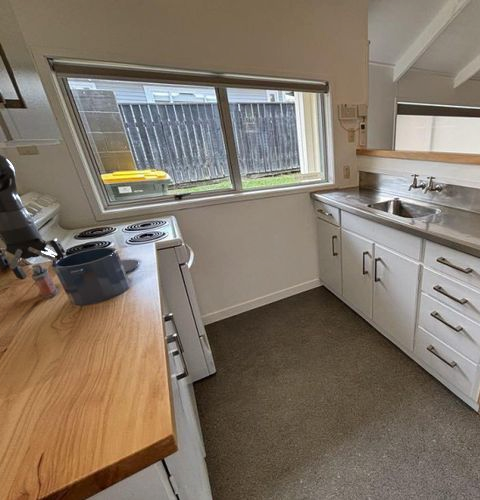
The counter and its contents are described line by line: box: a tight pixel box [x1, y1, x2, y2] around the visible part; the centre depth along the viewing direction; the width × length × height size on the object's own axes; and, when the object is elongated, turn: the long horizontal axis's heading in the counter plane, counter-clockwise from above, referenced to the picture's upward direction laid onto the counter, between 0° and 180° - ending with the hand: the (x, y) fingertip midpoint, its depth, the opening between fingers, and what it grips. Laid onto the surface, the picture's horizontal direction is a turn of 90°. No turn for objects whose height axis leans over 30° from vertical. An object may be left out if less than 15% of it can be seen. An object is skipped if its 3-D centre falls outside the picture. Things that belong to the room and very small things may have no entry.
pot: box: [51, 247, 131, 307], centre depth 87 cm, size 15×20×12 cm
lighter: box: [31, 263, 59, 300], centre depth 88 cm, size 8×3×10 cm, turn 40°
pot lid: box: [121, 259, 140, 274], centre depth 103 cm, size 16×16×6 cm
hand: (42, 274), depth 88 cm, fingers open, 8 cm apart
